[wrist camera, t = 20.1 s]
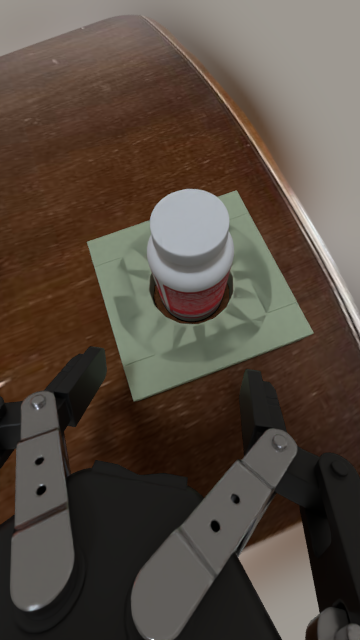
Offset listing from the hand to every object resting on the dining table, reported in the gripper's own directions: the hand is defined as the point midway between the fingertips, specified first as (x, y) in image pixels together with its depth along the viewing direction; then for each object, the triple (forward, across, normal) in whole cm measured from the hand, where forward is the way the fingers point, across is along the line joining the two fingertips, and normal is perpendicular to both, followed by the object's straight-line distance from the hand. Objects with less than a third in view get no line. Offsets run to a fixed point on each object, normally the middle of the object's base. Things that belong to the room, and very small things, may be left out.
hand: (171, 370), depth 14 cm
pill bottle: (+12, 0, +1) cm, 13 cm away
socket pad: (+12, 0, 0) cm, 12 cm away
